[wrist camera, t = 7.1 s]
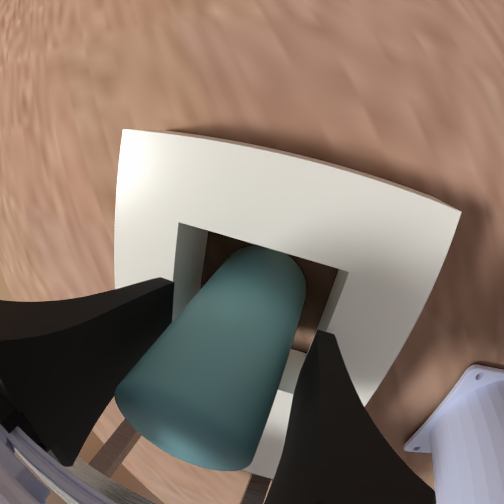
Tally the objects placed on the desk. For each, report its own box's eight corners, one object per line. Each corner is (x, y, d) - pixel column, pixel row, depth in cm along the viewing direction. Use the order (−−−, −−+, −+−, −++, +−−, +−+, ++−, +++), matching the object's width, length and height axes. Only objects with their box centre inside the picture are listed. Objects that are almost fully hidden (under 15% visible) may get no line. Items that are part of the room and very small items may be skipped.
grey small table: (317, 409, 15) (273, 583, 5) (269, 481, 20) (231, 581, 10) (113, 331, 18) (1, 432, 8) (128, 423, 22) (66, 501, 12)
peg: (317, 260, 12) (268, 429, 5) (294, 331, 14) (241, 482, 7) (227, 234, 13) (101, 356, 6) (217, 307, 15) (127, 432, 8)
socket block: (434, 196, 10) (461, 212, 7) (306, 451, 17) (298, 485, 14) (164, 130, 12) (123, 129, 10) (151, 395, 19) (131, 421, 16)
